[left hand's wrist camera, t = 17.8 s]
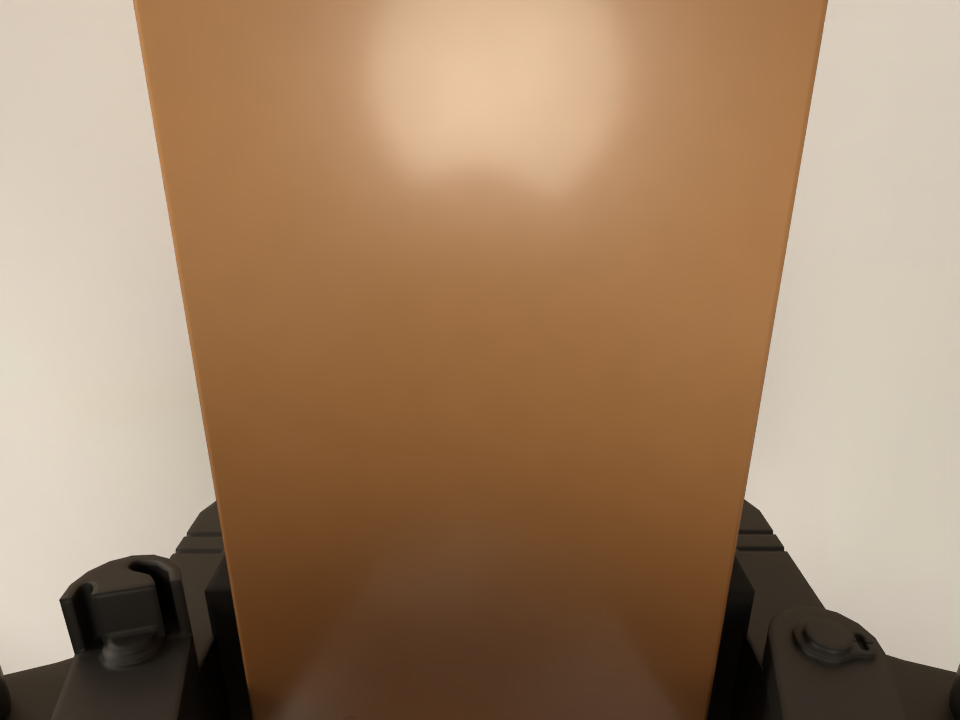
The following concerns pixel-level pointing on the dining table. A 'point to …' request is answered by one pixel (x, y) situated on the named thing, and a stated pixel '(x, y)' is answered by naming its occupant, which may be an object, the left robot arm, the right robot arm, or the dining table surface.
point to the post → (480, 334)
